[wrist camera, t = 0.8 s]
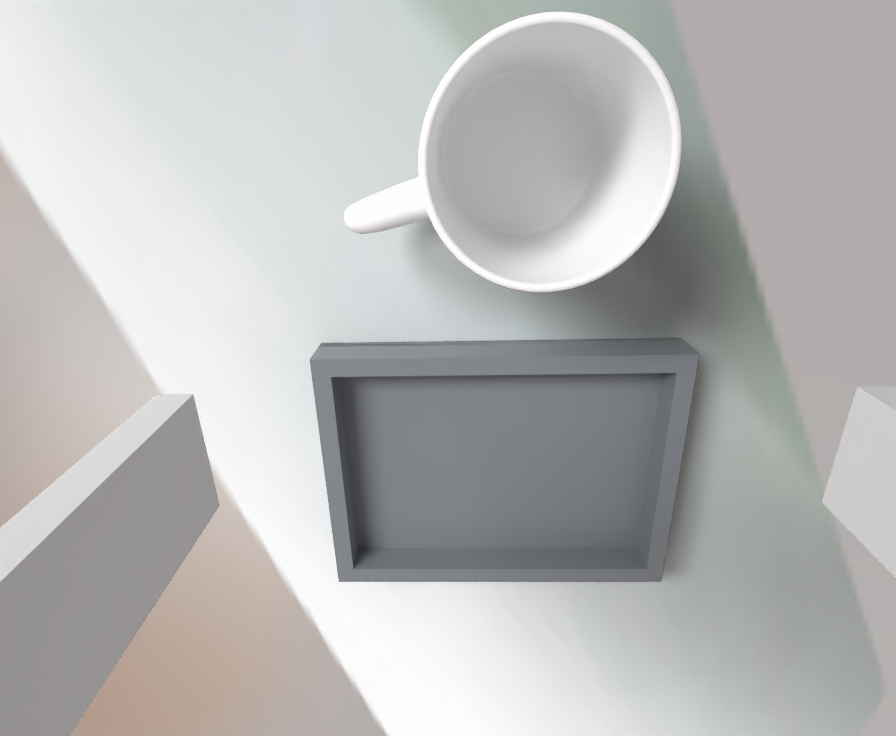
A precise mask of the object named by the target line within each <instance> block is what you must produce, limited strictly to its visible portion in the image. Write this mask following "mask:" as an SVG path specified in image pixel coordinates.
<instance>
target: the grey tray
mask: <svg viewBox="0 0 896 736" xmlns="http://www.w3.org/2000/svg"><path fill="white" fill-rule="evenodd" d="M698 359H699V354H698V353H697V352H696V351H695V350H694V349H692V348H691V347H690V346H689V345H688V344H687V343H686V342H685V341H683V340H682V339H681V338H662V339H589V340H516V341H443V342H371V343H321V344H320V346H319V347H318V349H317V350H316V352H315V353H314V354H313V356H312V357H311V359H310V365H311V372H312V380H313V388H314V395H315V403H316V411H317V418H318V426H319V433H320V441H321V449H322V456H323V464H324V472H325V479H326V487H327V494H328V502H329V510H330V517H331V525H332V533H333V540H334V548H335V555H336V563H337V571H338V578H339V582H661V580H662V574H663V568H664V562H665V556H666V550H667V544H668V538H669V532H670V527H671V521H672V515H673V509H674V503H675V497H676V491H677V485H678V479H679V473H680V467H681V461H682V455H683V449H684V443H685V437H686V431H687V425H688V419H689V413H690V407H691V401H692V395H693V389H694V383H695V377H696V371H697V365H698Z"/></svg>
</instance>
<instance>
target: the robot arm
mask: <svg viewBox="0 0 896 736" xmlns="http://www.w3.org/2000/svg"><path fill="white" fill-rule="evenodd" d="M822 503H823V504H824V505H825V506H826V507H827V508H828V509H829V510H830V511H831V512H832V513H833V514H834V516H835V517H836V518H837V519H838V520H839V521H840V522H841V523H842V524H843V525H844V526H845V527H846V528H847V529H848V530H849V531H850V532H851V533H852V534H853V535H854V536H855V537H856V538H857V539H858V540H859V541H860V542H861V543H862V544H863V545H864V546H865V547H866V548H867V549H868V550H869V551H870V552H871V553H872V555H873V556H874V557H876V559H877V560H878V561H879V562H880V563H881V564H882V565H883V566H884V567H885V568H886V569H887V570H888V571H889V572H890V573H891V574H892V575H893V576H894V577H895V578H896V386H868V387H867V386H863V387H857V390H856V393H855V396H854V400H853V403H852V406H851V409H850V412H849V416H848V419H847V422H846V425H845V429H844V432H843V435H842V438H841V441H840V445H839V448H838V451H837V454H836V458H835V461H834V464H833V467H832V471H831V474H830V477H829V480H828V483H827V487H826V490H825V493H824V496H823V500H822ZM218 507H219V501H218V497H217V493H216V488H215V484H214V480H213V476H212V472H211V467H210V463H209V459H208V455H207V451H206V447H205V442H204V438H203V434H202V430H201V426H200V421H199V417H198V413H197V409H196V405H195V400H194V396H193V394H182V395H155V396H154V397H153V398H152V399H150V400H149V401H148V402H147V403H146V404H145V405H143V406H142V407H141V408H140V409H139V410H138V411H136V412H135V413H134V414H133V415H132V416H130V417H129V418H128V419H127V420H126V421H125V422H123V423H122V424H121V425H120V426H119V427H118V428H116V429H115V430H114V431H113V432H112V433H111V434H110V435H108V436H107V437H106V438H105V439H104V440H103V441H101V442H100V443H99V444H98V445H97V446H95V447H94V448H93V449H92V450H91V451H90V452H88V453H87V454H86V455H85V456H84V457H83V458H81V459H80V460H79V461H78V462H77V463H76V464H74V465H73V466H72V467H71V468H70V469H69V470H67V471H66V472H65V473H64V474H63V475H62V476H60V477H59V478H58V479H57V480H56V481H54V483H52V484H51V485H50V486H49V487H48V488H47V489H45V490H44V491H43V492H42V493H40V494H39V495H38V496H37V497H36V498H35V499H33V500H32V501H31V502H30V503H29V504H28V505H26V506H25V507H24V508H23V509H22V510H21V511H19V512H18V513H17V514H16V515H15V516H14V517H13V518H11V519H10V520H9V521H8V522H7V523H5V524H4V525H3V526H2V527H1V528H0V736H70V734H71V733H72V731H73V730H74V728H75V727H76V725H77V724H78V722H79V721H80V719H81V718H82V716H83V714H84V713H85V711H86V710H87V708H88V707H89V705H90V704H91V702H92V701H93V699H94V698H95V696H96V695H97V693H98V691H99V690H100V688H101V687H102V685H103V684H104V682H105V680H106V679H107V678H108V676H109V674H110V673H111V671H112V670H113V668H114V667H115V665H116V664H117V662H118V660H119V659H120V658H121V656H122V655H123V653H124V651H125V650H126V648H127V647H128V645H129V644H130V642H131V641H132V639H133V638H134V636H135V634H136V633H137V631H138V630H139V628H140V627H141V625H142V624H143V622H144V621H145V619H146V618H147V616H148V615H149V613H150V612H151V610H152V608H153V607H154V605H155V604H156V602H157V601H158V599H159V598H160V596H161V595H162V593H163V592H164V590H165V588H166V587H167V585H168V584H169V582H170V581H171V579H172V577H173V576H174V575H175V573H176V572H177V570H178V568H179V567H180V565H181V564H182V562H183V561H184V559H185V558H186V556H187V555H188V553H189V552H190V550H191V549H192V547H193V545H194V544H195V542H196V541H197V539H198V538H199V536H200V535H201V533H202V532H203V530H204V529H205V527H206V525H207V524H208V522H209V521H210V519H211V518H212V516H213V515H214V513H215V511H216V510H217V508H218Z"/></svg>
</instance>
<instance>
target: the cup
mask: <svg viewBox="0 0 896 736" xmlns="http://www.w3.org/2000/svg"><path fill="white" fill-rule="evenodd" d="M681 147H682V135H681V123H680V118H679V112H678V108H677V104H676V101H675V97H674V94H673V92H672V89H671V87H670V84H669V82H668V80H667V78H666V76H665V74H664V72H663V71H662V69H661V68H660V66H659V65H658V63H657V62H656V60H655V59H654V58H653V57H652V55H651V54H650V53H649V52H648V51H647V49H646V48H645V47H644V46H642V45H641V44H640V43H639V42H638V41H637V40H636V39H635V38H633V37H632V36H631V35H629V34H628V33H627V32H625V31H624V30H622V29H620V28H619V27H617V26H615V25H613V24H611V23H609V22H607V21H604V20H602V19H599V18H596V17H593V16H589V15H585V14H579V13H574V12H545V13H539V14H533V15H529V16H525V17H522V18H519V19H516V20H513V21H511V22H508V23H506V24H504V25H502V26H500V27H498V28H496V29H494V30H493V31H491V32H489V33H488V34H486V35H485V36H483V37H482V38H480V39H479V40H478V41H477V42H475V43H474V44H473V45H472V46H471V47H469V48H468V49H467V50H466V51H465V52H464V53H463V54H462V55H461V56H460V57H459V58H458V59H457V61H456V62H455V63H454V64H453V66H452V67H451V68H450V69H449V71H448V72H447V73H446V75H445V76H444V78H443V80H442V81H441V83H440V84H439V86H438V88H437V90H436V92H435V94H434V96H433V98H432V100H431V103H430V105H429V107H428V110H427V113H426V116H425V119H424V123H423V127H422V132H421V136H420V144H419V156H418V168H419V177H417V178H414V179H411V180H409V181H406V182H403V183H401V184H398V185H396V186H393V187H390V188H388V189H385V190H383V191H380V192H378V193H375V194H373V195H370V196H368V197H366V198H363V199H361V200H359V201H357V202H355V203H353V204H352V205H350V206H349V207H348V208H347V209H346V210H345V213H344V223H345V224H346V226H347V228H349V229H350V230H351V231H352V232H356V233H359V234H366V233H374V232H380V231H384V230H389V229H393V228H396V227H400V226H404V225H407V224H411V223H414V222H418V221H421V220H425V219H428V218H430V220H431V222H432V224H433V226H434V228H435V230H436V232H437V233H438V235H439V237H440V238H441V240H442V241H443V242H444V244H445V245H446V246H447V248H448V249H449V250H450V251H451V252H452V253H453V255H454V256H455V257H456V258H457V259H458V260H459V261H461V262H462V263H463V264H464V265H465V266H466V267H468V268H469V269H470V270H472V271H473V272H474V273H476V274H478V275H479V276H481V277H483V278H484V279H486V280H489V281H491V282H493V283H495V284H498V285H501V286H503V287H506V288H510V289H514V290H519V291H526V292H555V291H562V290H567V289H571V288H576V287H579V286H582V285H585V284H587V283H590V282H592V281H594V280H596V279H599V278H600V277H602V276H604V275H606V274H608V273H609V272H611V271H612V270H614V269H615V268H617V267H618V266H620V265H621V264H622V263H624V262H625V261H626V260H627V259H628V258H630V257H631V256H632V255H633V254H634V253H635V252H636V251H637V250H638V249H639V248H640V247H641V246H642V245H643V243H644V242H645V241H646V240H647V239H648V237H649V236H650V235H651V233H652V232H653V231H654V229H655V228H656V226H657V225H658V223H659V221H660V220H661V218H662V216H663V214H664V212H665V210H666V208H667V206H668V204H669V202H670V199H671V197H672V194H673V191H674V188H675V185H676V181H677V177H678V172H679V167H680V160H681Z"/></svg>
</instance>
